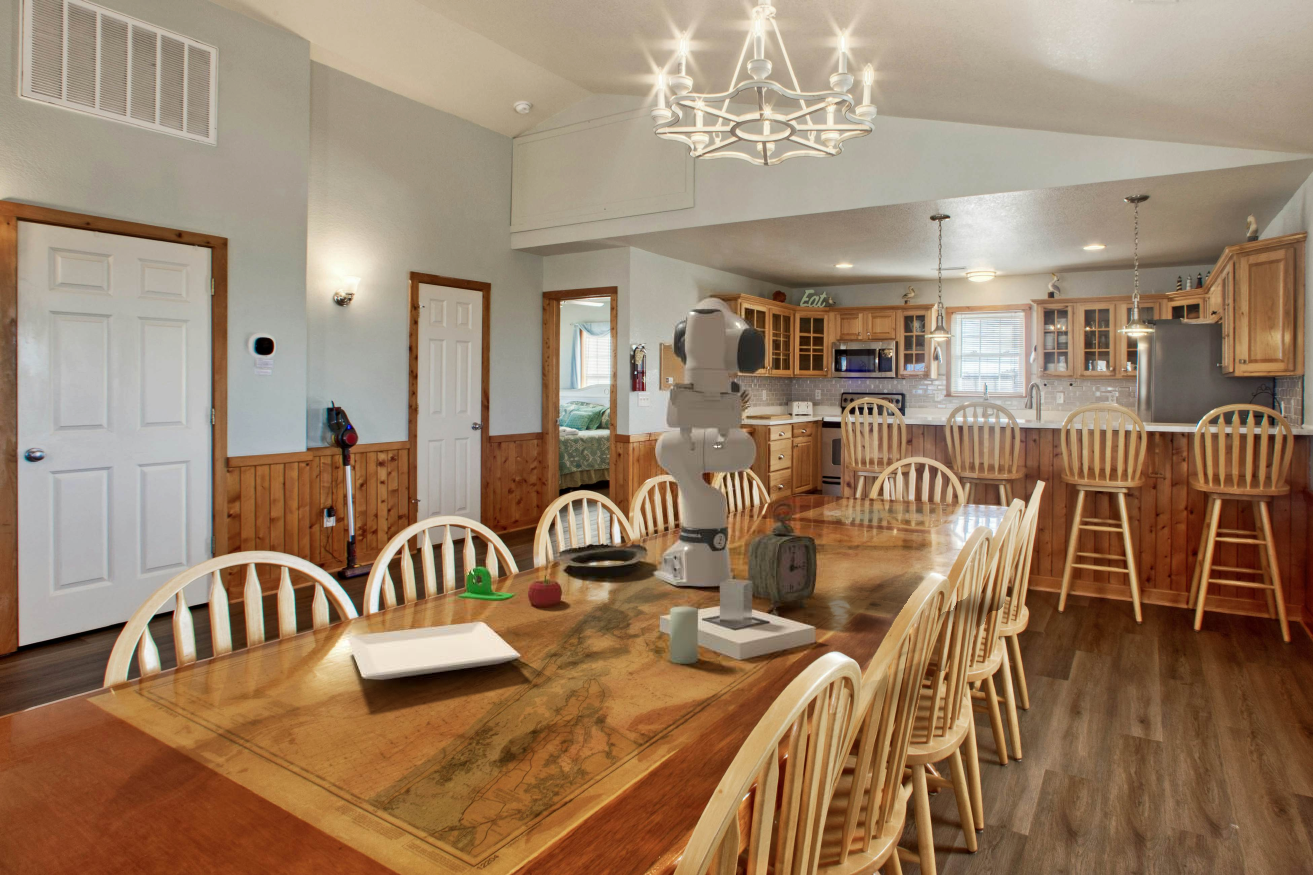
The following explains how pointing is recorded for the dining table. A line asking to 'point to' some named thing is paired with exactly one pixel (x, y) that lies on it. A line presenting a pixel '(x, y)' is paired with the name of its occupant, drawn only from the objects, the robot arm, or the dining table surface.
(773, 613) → the tabletop clock
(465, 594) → the mechanical part
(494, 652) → the plate
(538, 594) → the tomato
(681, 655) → the round peg
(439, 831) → the dining table surface
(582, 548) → the stone bowl
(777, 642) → the socket board
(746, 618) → the square peg
